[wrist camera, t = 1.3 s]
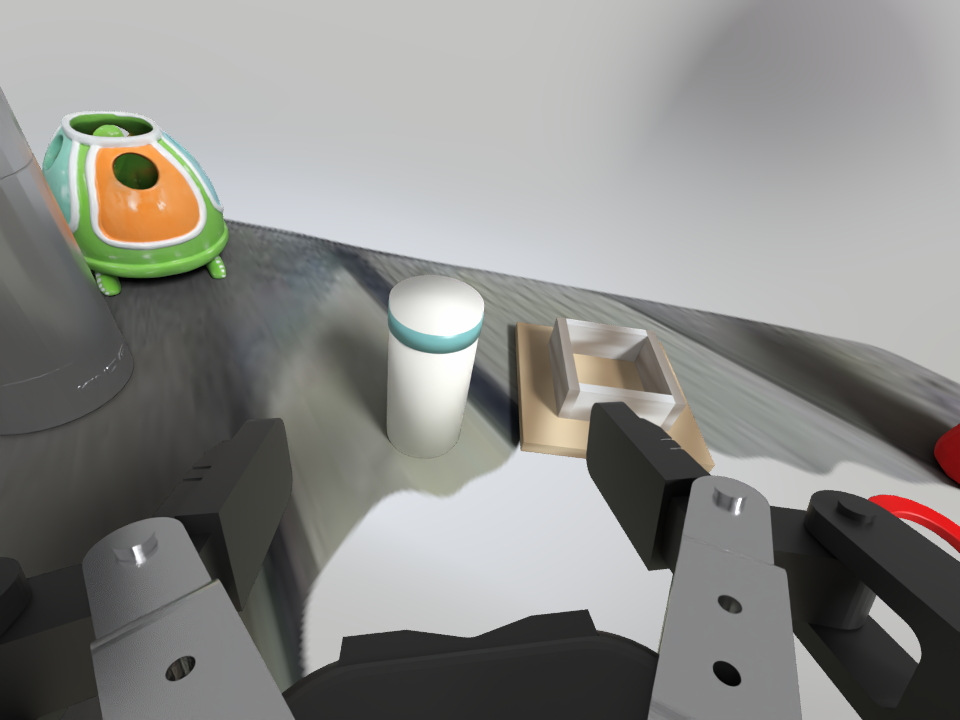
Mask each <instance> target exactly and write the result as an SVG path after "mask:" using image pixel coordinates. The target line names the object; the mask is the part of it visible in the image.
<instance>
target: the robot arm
mask: <svg viewBox="0 0 960 720" xmlns="http://www.w3.org/2000/svg"><path fill="white" fill-rule="evenodd" d="M132 371H133V358H132V356H131V354H130V351H129V349H128V347H127V345H126V343H125V341H124V339H123V337H122V335H121V333H120V331H119V329H118V327H117V325H116V322H115V320H114V318H113V316H112V314H111V312H110V309H109V307H108V305H107V303H106V301H105V299H104V297H103V295H102V293H101V291H100V289H99V287H98V285H97V283H96V281H95V279H94V277H93V275H92V273H91V271H90V269H89V267H88V264H87V262H86V260H85V258H84V256H83V254H82V252H81V250H80V248H79V246H78V244H77V242H76V240H75V238H74V236H73V234H72V232H71V230H70V228H69V226H68V224H67V222H66V219H65V217H64V215H63V213H62V211H61V209H60V207H59V205H58V203H57V201H56V199H55V197H54V195H53V193H52V191H51V189H50V187H49V185H48V183H47V181H46V179H45V177H44V174H43V172H42V170H41V168H40V166H39V165H38V162H37V160H36V158H35V156H34V154H33V153H32V151H31V149H30V146H29V145H28V142H27V141H26V138H25V136H24V134H23V132H22V130H21V128H20V126H19V124H18V122H17V120H16V118H15V116H14V114H13V112H12V110H11V108H10V106H9V104H8V101H7V99H6V97H5V96H4V93H3V91H2V89H1V88H0V435H6V434H22V433H29V432H35V431H41V430H44V429H48V428H52V427H55V426H59V425H62V424H65V423H67V422H70V421H72V420H75V419H78V418H80V417H82V416H84V415H86V414H88V413H90V412H92V411H94V410H96V409H97V408H99V407H100V406H102V405H103V404H105V403H106V402H108V401H109V400H110V399H112V398H113V397H114V396H115V395H116V394H117V393H118V392H119V391H120V390H121V389H122V388H123V387H124V386H125V384H126V383H127V382H128V380H129V379H130V376H131V374H132ZM586 461H587V467H588V471H589V474H590V476H591V478H592V479H593V481H594V483H595V484H596V486H597V488H598V489H599V491H600V492H601V494H602V496H603V497H604V499H605V501H606V502H607V504H608V506H609V507H610V509H611V510H612V512H613V514H614V515H615V517H616V518H617V520H618V522H619V523H620V525H621V527H622V528H623V530H624V531H625V533H626V534H627V536H628V538H629V540H630V541H631V543H632V545H633V546H634V548H635V549H636V551H637V553H638V554H639V556H640V557H641V559H642V561H643V562H644V564H645V566H646V567H647V569H648V570H649V571H651V570H660V569H670V570H671V572H672V573H673V577H672V582H671V587H670V591H669V597H668V601H667V607H666V611H665V616H664V622H663V627H662V632H661V637H660V642H659V647H658V652H657V653H656V652H654V651H653V650H651V649H649V648H648V647H646V646H644V645H642V644H639V643H637V642H635V641H633V640H631V639H628V638H625V637H622V636H620V635H616V634H612V633H608V632H604V631H598V630H596V628H595V626H594V623H593V621H592V619H591V616H590V614H589V611H588V609H587V610H579V611H569V612H560V613H551V614H542V615H534V616H529V617H527V618H524V619H521V620H518V621H516V622H513V623H511V624H508V625H505V626H503V627H500V628H497V629H495V630H492V631H490V632H487V633H484V634H482V635H479V636H476V637H471V638H465V637H457V636H450V635H442V634H434V633H427V632H419V631H411V630H401V631H392V632H384V633H374V634H366V635H357V636H348V637H343V640H342V646H341V652H340V658H339V660H338V661H336V662H333V663H331V664H328V665H326V666H324V667H322V668H320V669H318V670H316V671H314V672H312V673H311V674H309V675H307V676H306V677H304V678H302V679H301V680H299V681H298V682H296V683H295V684H294V685H292V686H291V687H290V688H288V689H287V690H286V691H284V692H283V693H282V694H281V693H280V691H279V689H278V687H277V685H276V683H275V681H274V680H273V678H272V676H271V674H270V672H269V670H268V669H267V667H266V665H265V663H264V661H263V659H262V657H261V656H260V654H259V652H258V650H257V648H256V646H255V644H254V643H253V641H252V639H251V637H250V635H249V633H248V631H247V630H246V628H245V626H244V624H243V622H242V620H241V618H240V617H239V615H238V613H237V612H238V611H242V610H243V608H244V605H245V603H246V601H247V598H248V596H249V594H250V591H251V589H252V586H253V584H254V582H255V579H256V577H257V575H258V572H259V570H260V567H261V565H262V563H263V560H264V558H265V555H266V553H267V551H268V548H269V546H270V544H271V541H272V539H273V536H274V534H275V532H276V529H277V527H278V525H279V522H280V520H281V517H282V515H283V513H284V510H285V508H286V505H287V503H288V501H289V498H290V495H291V491H292V469H291V463H290V456H289V450H288V444H287V438H286V432H285V426H284V423H283V421H282V419H281V418H271V419H252V420H247V421H246V422H245V423H244V424H243V425H242V427H241V428H240V429H239V431H238V432H237V433H236V435H235V436H234V437H233V439H232V440H230V441H222V442H221V443H219V444H218V445H216V446H215V447H213V448H212V449H210V450H209V451H207V452H206V453H204V454H203V456H202V457H201V458H200V459H199V460H198V462H197V463H196V464H195V465H194V466H193V470H190V471H189V473H188V474H187V475H186V476H185V477H184V479H183V482H180V483H179V485H178V486H177V487H176V488H175V490H174V491H173V492H172V493H171V494H170V496H169V497H168V498H167V499H166V501H165V502H164V503H163V504H162V505H161V507H160V508H159V509H158V510H157V511H156V513H155V514H154V515H153V516H152V518H150V519H145V520H141V521H137V522H135V523H132V524H129V525H126V526H124V527H122V528H120V529H118V530H116V531H114V532H112V533H110V534H109V535H107V536H106V537H104V538H103V539H101V540H100V541H99V542H97V543H96V544H95V545H94V546H93V547H92V548H91V549H90V550H89V551H88V553H87V554H86V556H85V557H84V560H83V563H81V564H78V565H75V566H71V567H67V568H64V569H60V570H56V571H53V572H49V573H46V574H42V575H38V576H35V577H31V578H28V579H26V577H25V575H24V573H23V570H22V568H21V566H20V564H19V563H18V561H16V560H14V559H11V558H5V557H0V720H61V718H62V716H63V715H64V713H65V712H66V710H67V708H68V707H69V706H71V705H73V704H76V703H79V702H81V701H84V700H86V699H89V698H92V697H94V696H97V695H99V700H100V706H101V712H102V717H103V720H802V714H801V706H800V695H799V686H798V676H797V667H796V657H795V647H794V638H793V633H794V634H795V635H796V636H797V638H798V639H799V640H800V642H801V643H802V644H803V645H804V647H805V648H806V649H807V651H808V652H809V653H810V654H811V656H812V657H813V658H814V659H815V661H816V662H817V663H818V664H819V666H820V667H821V668H822V669H823V671H824V672H825V673H826V674H827V676H828V677H829V678H830V679H831V680H832V682H833V683H834V685H835V686H836V687H837V688H838V689H839V691H840V692H841V693H842V695H843V696H844V697H845V698H846V700H847V701H848V702H849V703H850V705H851V706H852V707H853V708H854V710H855V711H856V712H857V713H858V715H859V716H860V717H861V719H862V720H960V562H959V561H958V560H956V559H955V558H953V557H952V556H951V555H949V554H948V553H946V552H945V551H944V550H942V549H941V548H939V547H938V546H937V545H935V544H934V543H932V542H931V541H930V540H928V539H927V538H925V537H924V536H922V535H921V534H920V533H918V532H917V531H916V530H914V529H913V528H911V527H910V526H909V525H907V524H906V523H904V522H903V521H901V520H900V519H899V518H897V517H896V516H895V515H893V514H892V513H890V512H889V511H887V510H886V509H884V508H883V507H881V506H879V505H878V504H876V503H874V502H871V501H869V500H867V499H865V498H862V497H859V496H856V495H853V494H849V493H846V492H841V491H833V490H823V491H818V492H816V493H814V494H813V495H812V496H811V499H810V502H809V506H808V508H807V511H804V510H797V509H790V508H781V507H775V506H769V503H768V501H767V499H766V498H765V497H764V496H763V495H762V494H761V493H760V492H758V491H757V490H756V489H754V488H752V487H751V486H749V485H747V484H745V483H743V482H740V481H738V480H735V479H731V478H727V477H722V476H711V475H710V474H709V473H708V472H707V471H706V470H705V469H704V468H703V467H702V466H701V465H700V464H699V463H698V462H697V461H696V460H695V459H694V458H692V457H691V456H690V455H689V454H688V453H687V452H686V451H685V450H684V449H681V446H680V445H679V444H678V443H677V442H676V441H675V440H672V438H671V437H670V436H669V435H668V434H667V433H666V432H665V431H664V430H663V429H662V428H661V427H660V426H658V425H656V424H654V423H652V422H650V421H648V420H646V419H644V418H639V417H638V416H637V415H636V414H635V413H634V412H633V411H632V410H631V409H630V408H629V407H628V406H627V405H626V404H625V403H624V402H622V401H618V402H598V403H594V404H593V406H592V409H591V415H590V424H589V433H588V442H587V451H586ZM876 595H877V596H878V597H879V598H880V599H881V600H883V601H884V602H885V603H886V604H887V605H888V606H889V607H890V608H891V609H892V610H893V611H894V612H895V613H897V614H898V615H899V616H900V617H901V618H902V619H903V620H904V621H905V622H906V623H907V624H908V625H909V626H910V627H911V629H912V630H913V632H914V633H915V635H916V637H917V638H918V641H919V643H920V647H921V653H922V655H921V660H920V662H919V664H918V663H917V662H915V660H914V659H913V658H912V657H911V656H910V655H909V654H908V653H906V651H905V650H904V649H903V648H902V647H901V646H900V645H899V644H898V643H897V642H896V641H895V640H894V639H893V638H892V637H891V636H890V635H889V634H888V633H886V631H884V629H883V628H882V627H881V626H880V625H879V624H878V623H877V622H876V621H875V620H874V619H872V618H871V617H870V616H869V615H868V614H869V611H870V609H871V607H872V604H873V602H874V600H875V597H876Z"/></svg>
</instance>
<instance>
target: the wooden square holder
mask: <svg viewBox="0 0 960 720" xmlns="http://www.w3.org/2000/svg"><path fill="white" fill-rule="evenodd" d="M515 340H516V361H517V382H518V404H519V425H520V446H521V451H526V452H535V453H544V454H552V455H559V456H568V457H576V458H584V459H586V451H587V442H588V433H589V424H590V415H591V409H592V406H593V404H594V403H598V402H618V401H622V402H624V403H625V404H626V405H627V406H628V407H629V408H630V409H631V410H632V411H633V412H634V413H635V414H636V415H637V416H638V417H639V418H644V419H646V420H648V421H650V422H652V423H654V424H656V425H658V426H660V427H661V428H662V429H663V430H664V431H665V432H666V433H667V434H668V435H669V436H670V437H671V438H672V440H675V441H676V442H677V443H678V444H679V445H680V446H681V449H684V450H685V451H686V452H687V453H688V454H689V455H690V456H691V457H692V458H694V459H695V460H696V461H697V462H698V463H699V464H700V465H701V466H702V467H703V468H704V469H705V470H706V471H707V472H708V473H709V472H710V471H711V470H712V468H713V467H714V466H715V464H714V462H713V460H712V458H711V456H710V453H709V451H708V448H707V446H706V444H705V442H704V439H703V437H702V435H701V432H700V430H699V428H698V426H697V423H696V421H695V419H694V417H693V414H692V412H691V410H690V407H689V405H688V403H687V401H686V398H685V396H684V394H683V391H682V389H681V387H680V385H679V382H678V380H677V378H676V376H675V373H674V371H673V369H672V366H671V364H670V362H669V360H668V357H667V355H666V353H665V350H664V348H663V346H662V344H661V343H660V342H659V341H658V339H657V336H656V334H655V332H654V331H648V330H641V329H635V328H628V327H621V326H614V325H607V324H600V323H593V322H586V321H580V320H573V319H566V318H559V317H557V319H556V322H555V325H554V327H549V326H542V325H535V324H528V323H521V322H517V325H516V329H515Z"/></svg>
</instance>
